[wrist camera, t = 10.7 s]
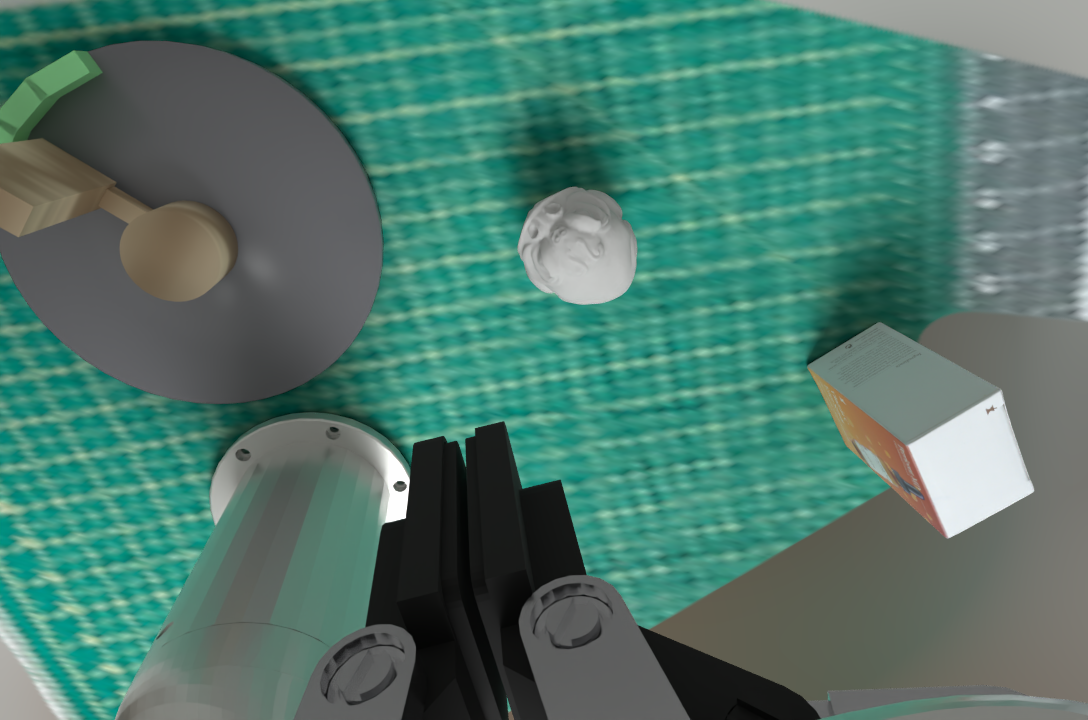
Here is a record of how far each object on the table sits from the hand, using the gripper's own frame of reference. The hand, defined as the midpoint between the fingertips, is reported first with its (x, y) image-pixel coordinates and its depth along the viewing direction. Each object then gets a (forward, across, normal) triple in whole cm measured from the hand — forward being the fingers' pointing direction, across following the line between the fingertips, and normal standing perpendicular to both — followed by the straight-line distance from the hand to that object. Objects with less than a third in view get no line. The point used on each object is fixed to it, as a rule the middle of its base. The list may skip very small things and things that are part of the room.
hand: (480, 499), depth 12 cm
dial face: (+27, +14, -2) cm, 30 cm away
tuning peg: (+25, +16, -4) cm, 30 cm away
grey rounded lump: (+27, -6, +2) cm, 28 cm away
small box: (+27, -24, +17) cm, 40 cm away
